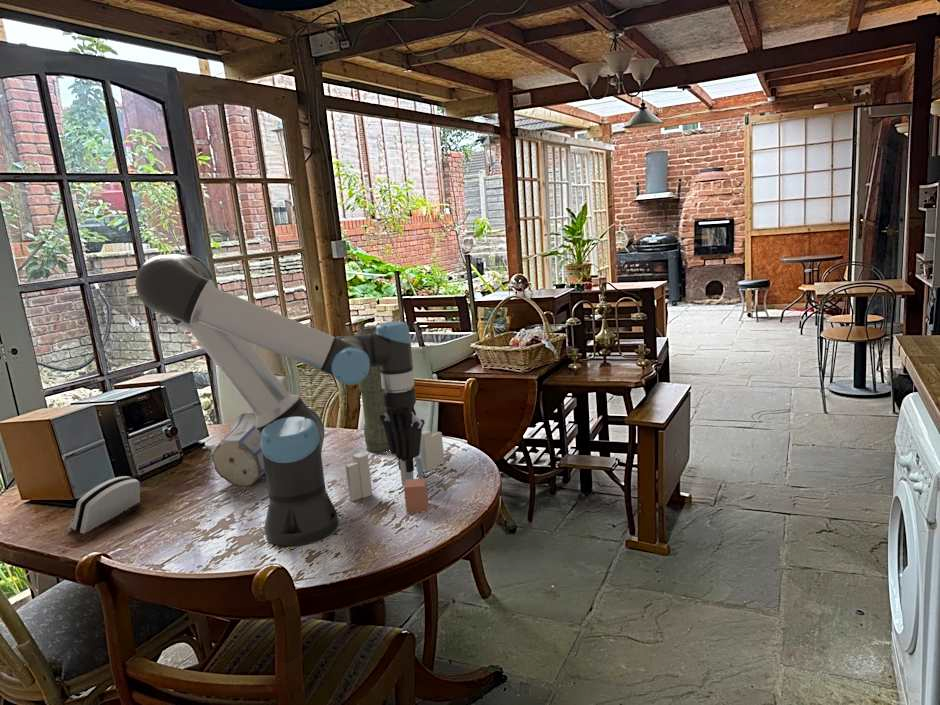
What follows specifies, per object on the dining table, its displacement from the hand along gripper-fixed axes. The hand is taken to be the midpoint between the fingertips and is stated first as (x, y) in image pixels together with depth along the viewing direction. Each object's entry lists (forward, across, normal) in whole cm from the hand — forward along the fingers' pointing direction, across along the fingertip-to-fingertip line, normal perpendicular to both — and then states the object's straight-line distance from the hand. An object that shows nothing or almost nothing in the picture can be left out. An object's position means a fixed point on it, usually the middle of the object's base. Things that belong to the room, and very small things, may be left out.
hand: (407, 483), depth 159 cm
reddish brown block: (+1, -10, +6) cm, 12 cm away
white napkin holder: (+2, +52, +48) cm, 71 cm away
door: (+1, 0, -4) cm, 4 cm away
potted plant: (+2, +45, +9) cm, 46 cm away
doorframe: (+1, +6, -3) cm, 6 cm away
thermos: (+2, +28, -17) cm, 33 cm away
